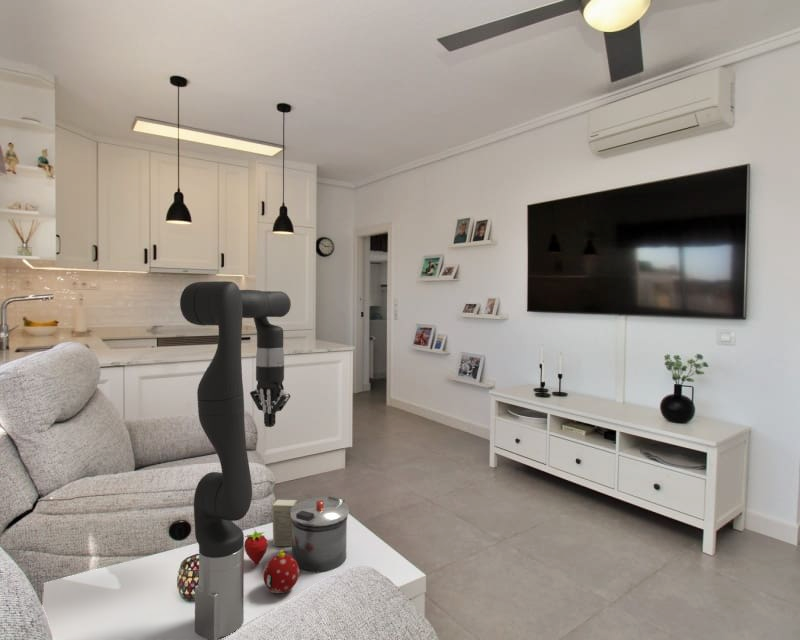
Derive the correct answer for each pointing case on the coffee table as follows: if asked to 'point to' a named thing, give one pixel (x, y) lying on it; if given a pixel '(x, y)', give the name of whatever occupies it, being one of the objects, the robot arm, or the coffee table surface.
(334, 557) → the cooker pot
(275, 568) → the christmas ornament
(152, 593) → the coffee table surface
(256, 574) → the coffee table surface
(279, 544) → the skincare box
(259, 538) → the strawberry
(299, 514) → the cooker lid
